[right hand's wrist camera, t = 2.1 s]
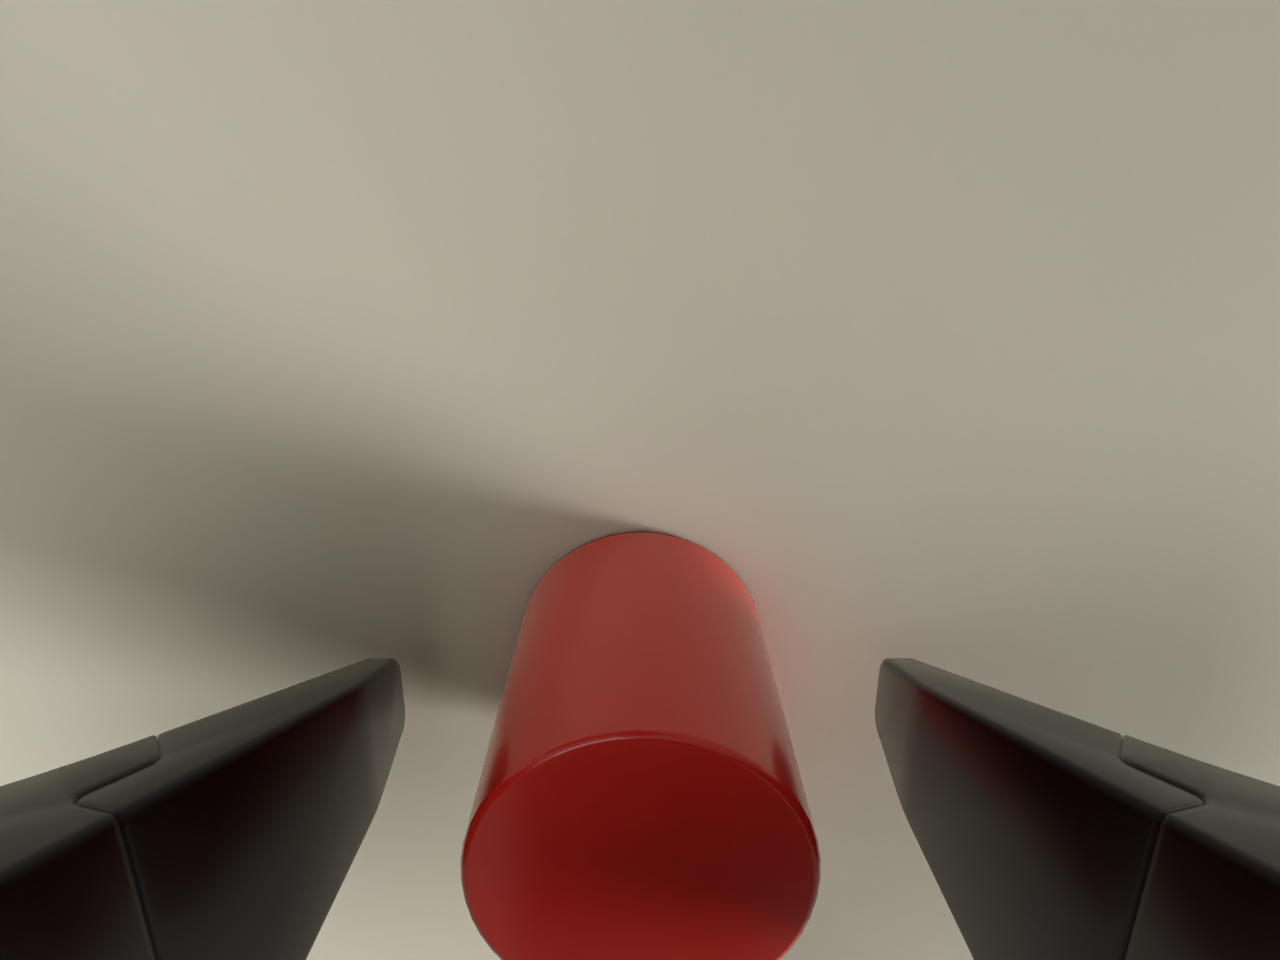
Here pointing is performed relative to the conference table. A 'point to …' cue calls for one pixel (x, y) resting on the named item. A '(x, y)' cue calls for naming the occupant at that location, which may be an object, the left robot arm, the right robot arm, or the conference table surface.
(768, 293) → the conference table surface
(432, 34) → the conference table surface
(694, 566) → the red cylinder
